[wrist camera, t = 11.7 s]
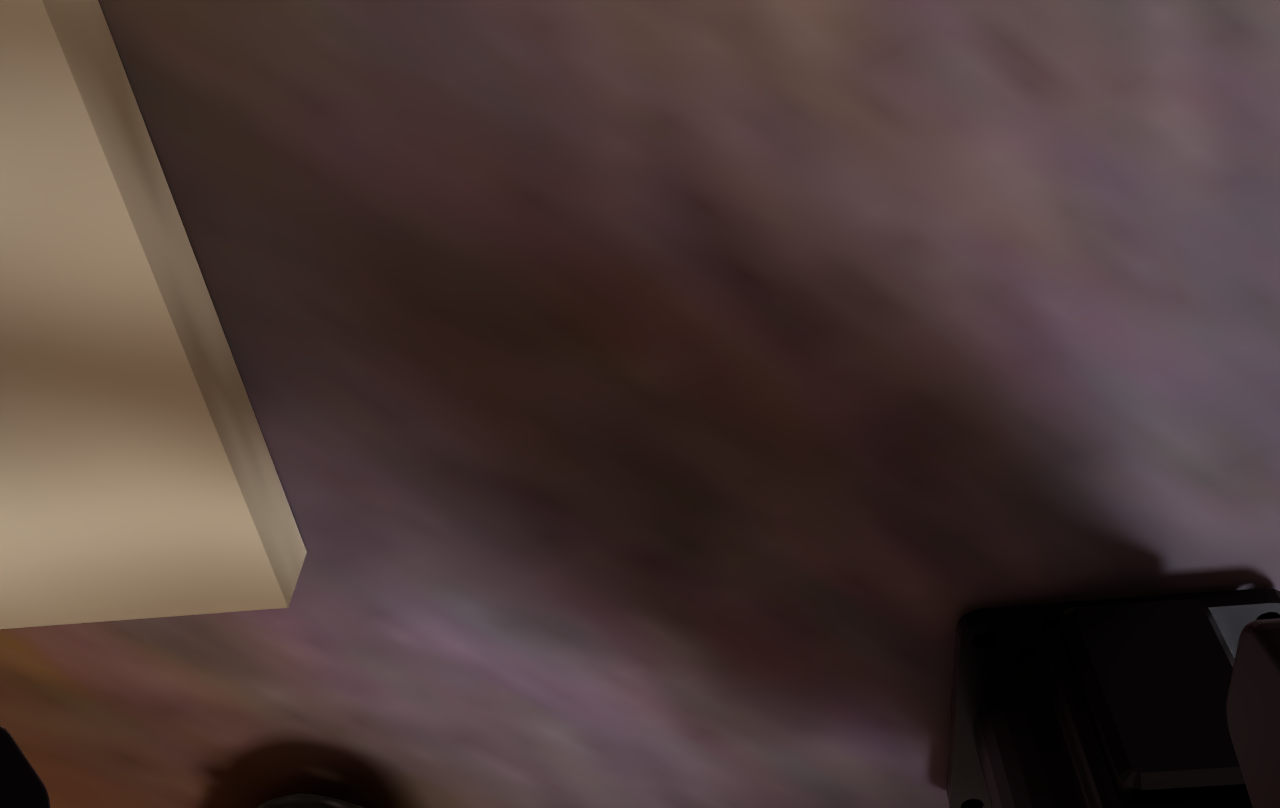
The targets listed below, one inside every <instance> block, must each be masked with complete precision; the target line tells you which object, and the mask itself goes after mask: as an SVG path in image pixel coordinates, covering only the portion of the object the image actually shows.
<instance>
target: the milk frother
mask: <svg viewBox="0 0 1280 808" xmlns="http://www.w3.org/2000/svg"><path fill="white" fill-rule="evenodd" d="M257 808H364V807H362V806H360V805H358V806H357V805H354V804H351V803H348V802H345V801H343V800H339V799H335V798H330V797H325V796H320V795H313V794H295V795H289V796H284V797H280V798H276V799H272V800H269V801H267V802H265V803H263V804H262V805H260V806H259V807H257Z"/></svg>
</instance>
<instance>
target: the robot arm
mask: <svg viewBox="0 0 1280 808" xmlns="http://www.w3.org/2000/svg"><path fill="white" fill-rule="evenodd" d="M1263 613H1264V614H1263ZM982 632H988V633H984V634H979V633H982ZM947 796H948V800H949V805H950V808H1280V591H1278V590H1275V589H1267V588H1262V589H1248V590H1234V591H1220V592H1206V593H1192V594H1178V595H1164V596H1150V597H1136V598H1122V599H1108V600H1094V601H1080V602H1066V603H1052V604H1038V605H1024V606H1010V607H996V608H982V609H978V610H973V611H971V612H969V613H967V614H965V615H964V616H963V617H962V618H961V619H960V620H959V621H958V624H957V627H956V642H955V659H954V676H953V693H952V710H951V727H950V744H949V761H948V778H947ZM0 808H50V803H49V796H48V793H47V789H46V787H45V785H44V783H43V782H42V780H41V779H40V778H39V776H38V775H37V773H36V772H35V770H34V769H33V767H32V766H31V764H30V763H29V761H28V760H27V758H26V757H25V755H24V754H23V752H22V751H21V749H20V748H19V746H18V745H17V743H16V742H15V740H14V739H13V737H12V736H11V735H10V733H9V732H8V731H7V730H6V729H5V728H3V727H2V726H0Z"/></svg>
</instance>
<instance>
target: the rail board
mask: <svg viewBox="0 0 1280 808" xmlns="http://www.w3.org/2000/svg"><path fill="white" fill-rule="evenodd" d="M306 553H307V552H306V549H305V546H304V544H303V541H302V538H301V536H300V533H299V530H298V528H297V525H296V522H295V520H294V517H293V515H292V512H291V509H290V507H289V504H288V501H287V499H286V496H285V493H284V491H283V488H282V485H281V483H280V480H279V478H278V475H277V472H276V470H275V467H274V464H273V462H272V459H271V456H270V454H269V451H268V448H267V446H266V443H265V440H264V438H263V435H262V433H261V430H260V427H259V425H258V422H257V419H256V417H255V414H254V411H253V409H252V406H251V403H250V401H249V398H248V396H247V393H246V390H245V388H244V385H243V382H242V380H241V377H240V374H239V372H238V369H237V366H236V364H235V361H234V359H233V356H232V353H231V351H230V348H229V345H228V343H227V340H226V337H225V335H224V332H223V329H222V327H221V324H220V321H219V319H218V316H217V314H216V311H215V308H214V306H213V303H212V300H211V298H210V295H209V292H208V290H207V287H206V284H205V282H204V279H203V277H202V274H201V271H200V269H199V266H198V263H197V261H196V258H195V255H194V253H193V250H192V247H191V245H190V242H189V240H188V237H187V234H186V232H185V229H184V226H183V224H182V221H181V218H180V216H179V213H178V210H177V208H176V205H175V203H174V200H173V197H172V195H171V192H170V189H169V187H168V184H167V181H166V179H165V176H164V173H163V171H162V168H161V165H160V163H159V160H158V158H157V155H156V152H155V150H154V147H153V144H152V142H151V139H150V136H149V134H148V131H147V128H146V126H145V123H144V121H143V118H142V115H141V113H140V110H139V107H138V105H137V102H136V99H135V97H134V94H133V91H132V89H131V86H130V84H129V81H128V78H127V76H126V73H125V70H124V68H123V65H122V62H121V60H120V57H119V54H118V52H117V49H116V46H115V44H114V41H113V39H112V36H111V33H110V31H109V28H108V25H107V23H106V20H105V17H104V15H103V12H102V9H101V7H100V4H99V2H98V0H0V629H8V628H21V627H35V626H48V625H62V624H75V623H88V622H102V621H115V620H129V619H142V618H156V617H169V616H182V615H196V614H209V613H223V612H236V611H249V610H263V609H276V608H288V607H289V604H290V601H291V598H292V595H293V592H294V589H295V586H296V583H297V580H298V577H299V574H300V571H301V568H302V565H303V562H304V559H305V556H306Z"/></svg>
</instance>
